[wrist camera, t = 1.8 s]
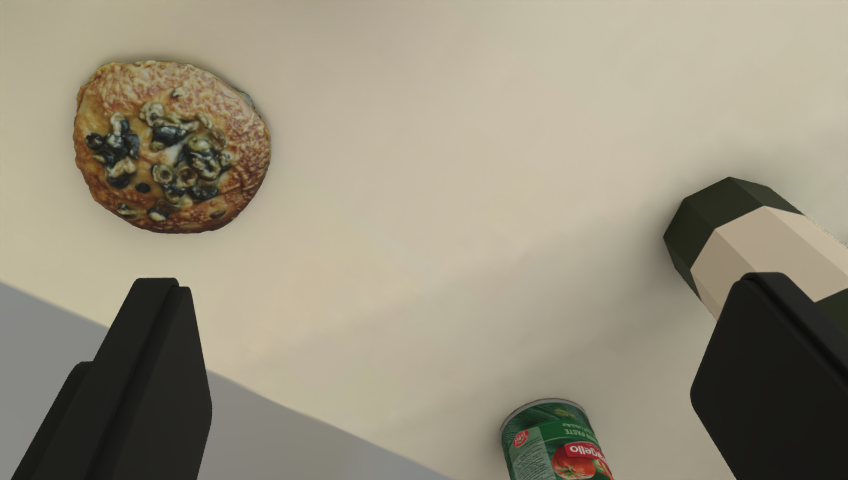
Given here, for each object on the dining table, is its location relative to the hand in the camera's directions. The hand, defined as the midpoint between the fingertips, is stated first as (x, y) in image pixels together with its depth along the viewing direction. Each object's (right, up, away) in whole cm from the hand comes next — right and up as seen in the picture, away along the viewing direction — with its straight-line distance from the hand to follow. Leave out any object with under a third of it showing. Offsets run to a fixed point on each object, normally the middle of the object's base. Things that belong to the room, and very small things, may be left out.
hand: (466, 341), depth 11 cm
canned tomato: (+10, -15, +43) cm, 46 cm away
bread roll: (-16, +8, +26) cm, 31 cm away
